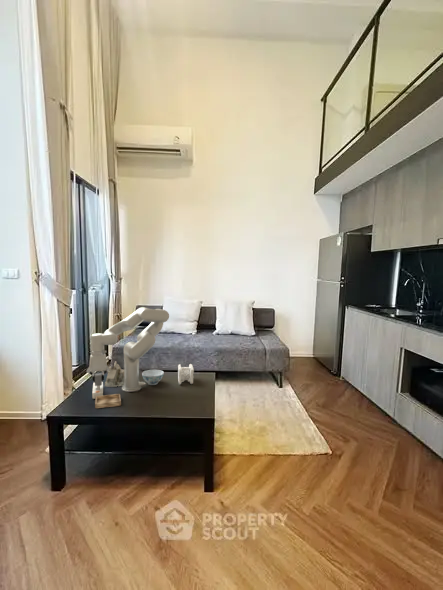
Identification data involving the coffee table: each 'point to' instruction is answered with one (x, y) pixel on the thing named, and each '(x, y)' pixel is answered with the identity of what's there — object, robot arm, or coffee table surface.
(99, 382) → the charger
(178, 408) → the coffee table surface
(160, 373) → the chinaware
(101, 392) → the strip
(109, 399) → the tray
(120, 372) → the ceramic cottage
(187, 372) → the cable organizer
